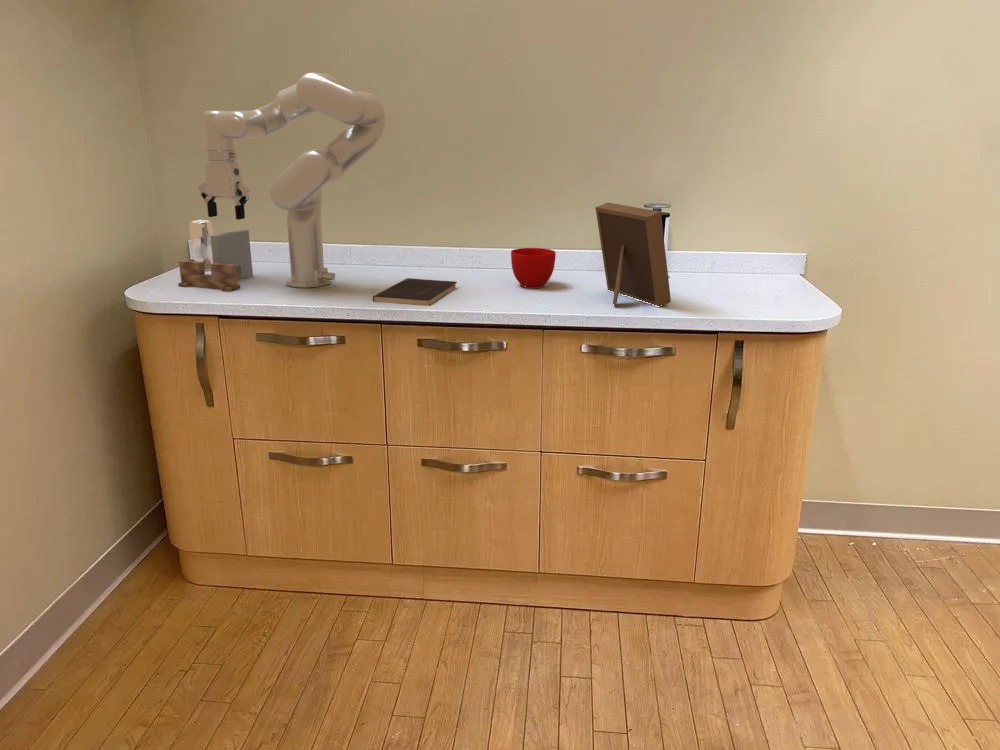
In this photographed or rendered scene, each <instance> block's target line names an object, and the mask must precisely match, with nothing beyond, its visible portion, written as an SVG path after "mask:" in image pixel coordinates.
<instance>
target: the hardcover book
mask: <svg viewBox="0 0 1000 750" xmlns="http://www.w3.org/2000/svg"><path fill="white" fill-rule="evenodd" d="M457 283H458V282H457V281H454V280H453V281H451V280H450V281H449V280H438V279H437V280H436V279H425V278H422V279H421V278H411V277H409V278H408V277H406V278H405V279H403V280H400V281H399V282H397V283H395V284H394V285H391V286H389V287H387V288H386V289H384V290H382V291H380V292H378V293H377V294H374V295H373V296H372V301H373V303H374V302H378V303H379V302H380V303H388V304H389V303H392V304H404V305H405V304H406V305H416V306H428V307H429V305H431V304H433V303H434V302H435V301H438V299H440V298H442V297H444V296H445V295H447V294H448V293H449V292H451V291H453V290H455V289H456V284H457ZM446 293H447V294H446Z"/></svg>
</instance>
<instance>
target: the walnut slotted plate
mask: <svg viewBox="0 0 1000 750" xmlns="http://www.w3.org/2000/svg"><path fill="white" fill-rule="evenodd" d="M178 267H179V275H180V282H178V287H179V286H180V287H181V288H188V287H192V288H193V287H195V288H203V289H204V288H205V289H212V290H213V289H214V290H221V291H222V292H228V293H229V292H232V291H233V292H234V291H237V290H239V289H241V287H242V286H241V284H239V283H238V279H237V275H236V265H233V264H222V263H212V264H210V267H211V270H210V274H209V273H208V274H207V273H205V272H206V271H205V270H204V262H200V261H196V260H188V259H182V260H178Z"/></svg>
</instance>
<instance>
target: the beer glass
mask: <svg viewBox="0 0 1000 750" xmlns="http://www.w3.org/2000/svg"><path fill="white" fill-rule="evenodd" d="M188 222H189V223H188V224H189V226H188V227H189V228H188V229H189V237H190V241H191V246H192V250H193V253H194V255H195V261H200V262H204V270H205V272H206V271H211V267H210V264H212V263H213V256H212V248H211V239H210V236H212V235H215V234H214V227H213V224H212V223H213V221H212V220H210V219H194V220H190V221H188Z"/></svg>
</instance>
